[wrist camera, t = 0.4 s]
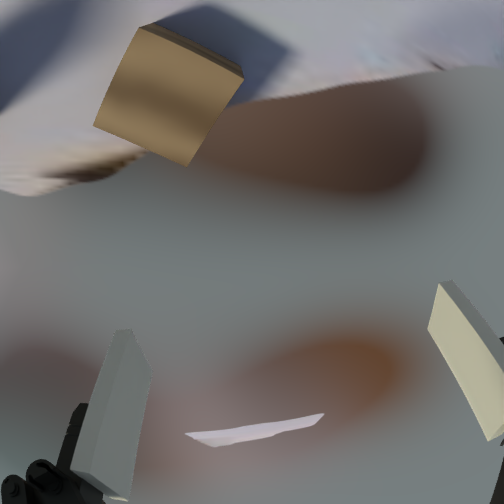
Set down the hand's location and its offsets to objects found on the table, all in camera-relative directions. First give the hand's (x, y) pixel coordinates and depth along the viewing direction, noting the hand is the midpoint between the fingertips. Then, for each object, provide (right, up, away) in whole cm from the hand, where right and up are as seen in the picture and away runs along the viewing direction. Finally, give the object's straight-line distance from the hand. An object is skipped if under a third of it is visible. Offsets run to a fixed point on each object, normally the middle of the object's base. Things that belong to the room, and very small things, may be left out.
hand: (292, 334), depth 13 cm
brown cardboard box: (-10, +20, +16) cm, 28 cm away
